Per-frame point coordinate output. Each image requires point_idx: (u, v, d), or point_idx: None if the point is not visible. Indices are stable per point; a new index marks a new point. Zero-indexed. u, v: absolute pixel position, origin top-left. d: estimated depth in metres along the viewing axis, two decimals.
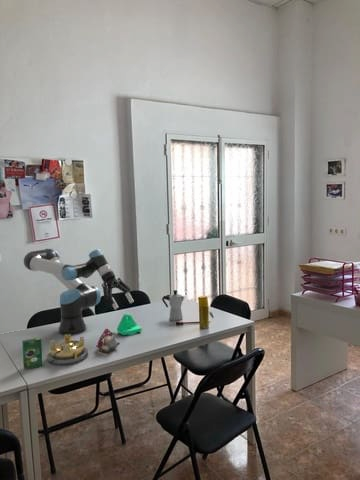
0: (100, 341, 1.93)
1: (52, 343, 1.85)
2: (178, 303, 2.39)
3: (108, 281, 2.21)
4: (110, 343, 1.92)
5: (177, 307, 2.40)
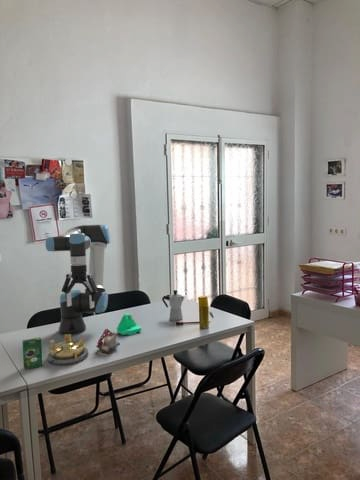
0: (100, 341, 1.92)
1: (52, 343, 1.85)
2: (178, 303, 2.39)
3: (72, 275, 1.92)
4: (110, 343, 1.92)
5: (177, 307, 2.40)
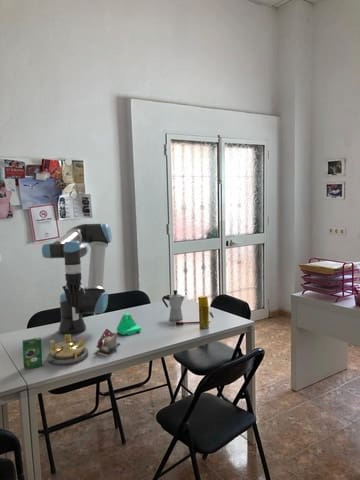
0: (100, 341, 1.92)
1: (52, 343, 1.85)
2: (178, 303, 2.39)
3: (67, 283, 1.91)
4: (110, 344, 1.91)
5: (177, 307, 2.40)
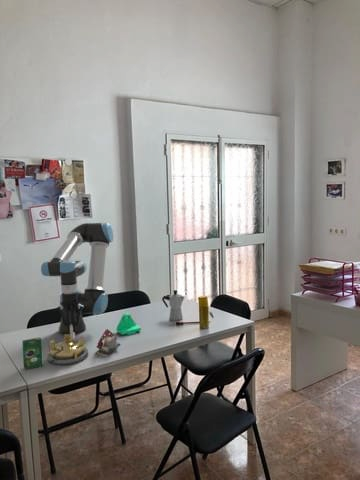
0: (100, 342, 1.92)
1: (52, 343, 1.84)
2: (178, 303, 2.39)
3: (62, 303, 1.92)
4: (110, 344, 1.91)
5: (177, 307, 2.40)
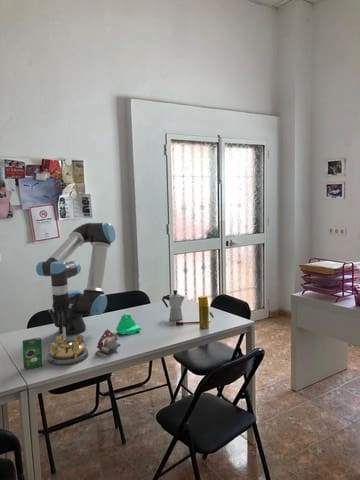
0: (100, 342, 1.91)
1: (56, 345, 1.82)
2: (178, 303, 2.39)
3: (55, 305, 1.89)
4: (110, 344, 1.91)
5: (177, 307, 2.40)
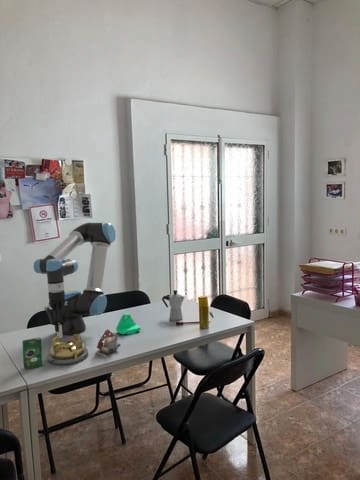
0: (100, 342, 1.91)
1: (60, 346, 1.81)
2: (178, 303, 2.39)
3: (52, 303, 1.87)
4: (110, 344, 1.90)
5: (177, 307, 2.40)
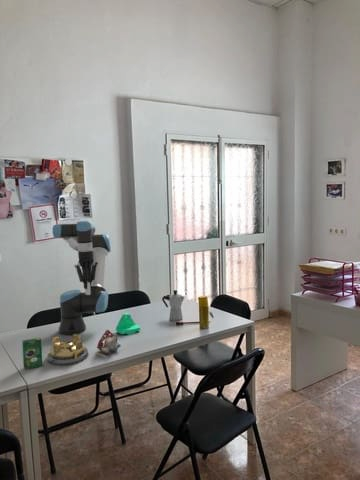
0: (100, 342, 1.91)
1: (60, 346, 1.81)
2: (178, 303, 2.39)
3: (81, 261, 2.01)
4: (110, 345, 1.90)
5: (177, 307, 2.40)
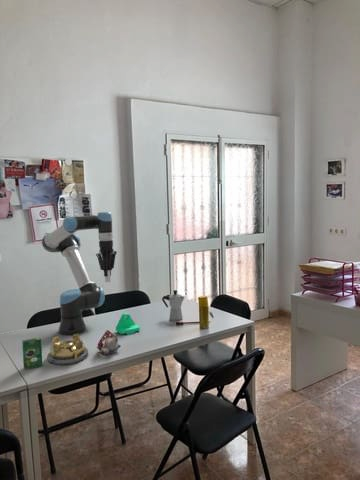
0: (100, 343, 1.90)
1: (60, 346, 1.81)
2: (178, 303, 2.39)
3: (102, 250, 2.13)
4: (110, 345, 1.89)
5: (177, 307, 2.40)
